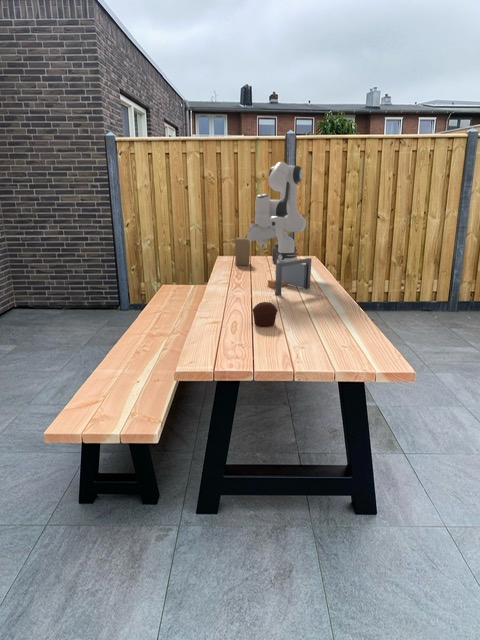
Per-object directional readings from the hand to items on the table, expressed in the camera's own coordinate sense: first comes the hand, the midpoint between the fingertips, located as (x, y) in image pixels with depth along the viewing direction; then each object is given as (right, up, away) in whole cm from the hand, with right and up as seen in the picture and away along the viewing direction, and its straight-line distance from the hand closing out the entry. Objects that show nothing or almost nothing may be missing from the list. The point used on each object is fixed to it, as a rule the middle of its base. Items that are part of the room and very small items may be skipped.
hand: (262, 247), depth 268 cm
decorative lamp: (+21, +1, +86) cm, 88 cm away
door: (+19, -22, +11) cm, 31 cm away
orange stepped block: (+10, -22, +11) cm, 27 cm away
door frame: (+18, -26, -2) cm, 32 cm away
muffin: (-2, -45, -62) cm, 77 cm away
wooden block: (-11, -1, +77) cm, 78 cm away
